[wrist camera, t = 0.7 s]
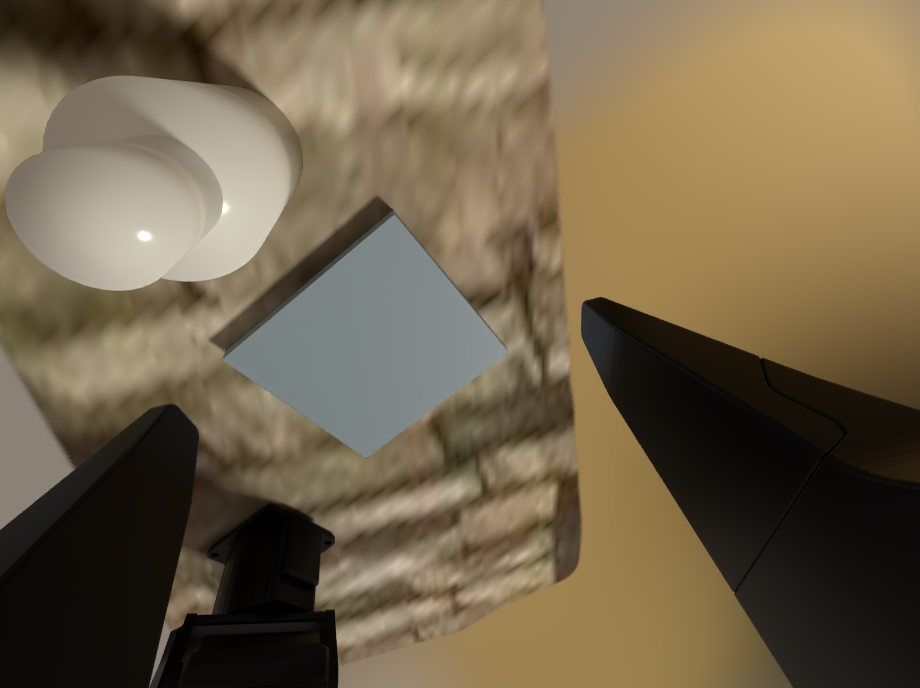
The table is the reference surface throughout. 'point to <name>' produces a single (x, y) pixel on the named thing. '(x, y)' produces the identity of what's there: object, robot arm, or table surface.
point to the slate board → (369, 340)
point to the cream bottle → (154, 181)
